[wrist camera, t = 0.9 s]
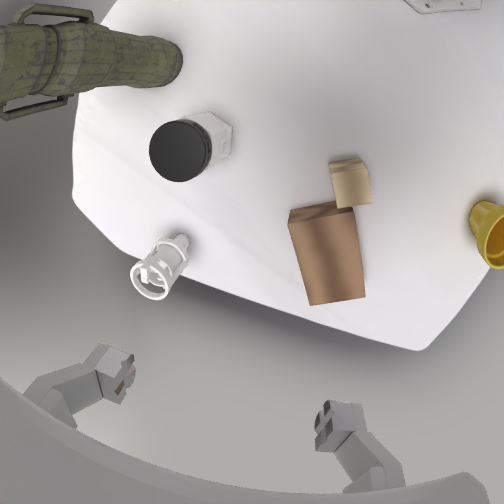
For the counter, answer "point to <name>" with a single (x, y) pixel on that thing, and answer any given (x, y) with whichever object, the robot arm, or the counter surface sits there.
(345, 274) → the walnut block
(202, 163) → the jar
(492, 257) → the plant pot
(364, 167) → the oak block
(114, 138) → the counter surface
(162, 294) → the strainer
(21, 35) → the thermos
